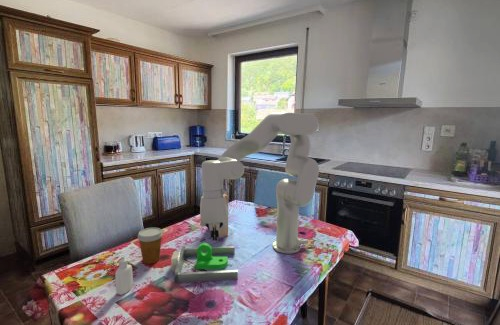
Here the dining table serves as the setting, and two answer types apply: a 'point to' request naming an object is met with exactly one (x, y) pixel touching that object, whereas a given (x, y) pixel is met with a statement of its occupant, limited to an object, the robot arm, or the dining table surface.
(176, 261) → the drawer frame
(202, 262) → the mechanical part
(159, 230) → the disposable coffee cup
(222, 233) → the cracker box
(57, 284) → the dining table surface
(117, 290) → the eye dropper bottle
